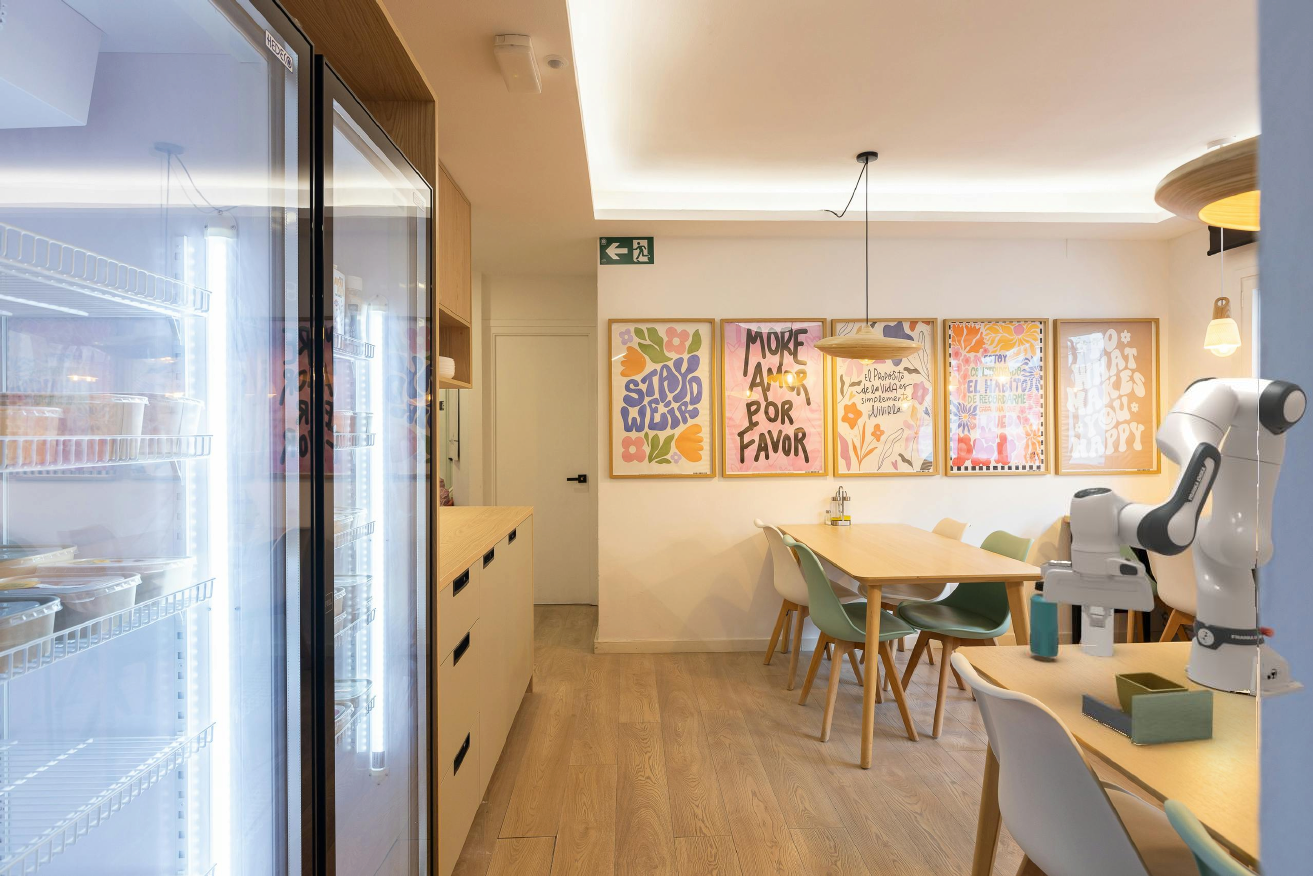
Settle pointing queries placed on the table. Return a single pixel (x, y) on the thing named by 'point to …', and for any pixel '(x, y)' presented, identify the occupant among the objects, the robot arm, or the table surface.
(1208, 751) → the table surface
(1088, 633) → the cylindrical container
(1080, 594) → the robot arm
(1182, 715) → the bracket
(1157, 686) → the flower pot
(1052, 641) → the beverage bottle
